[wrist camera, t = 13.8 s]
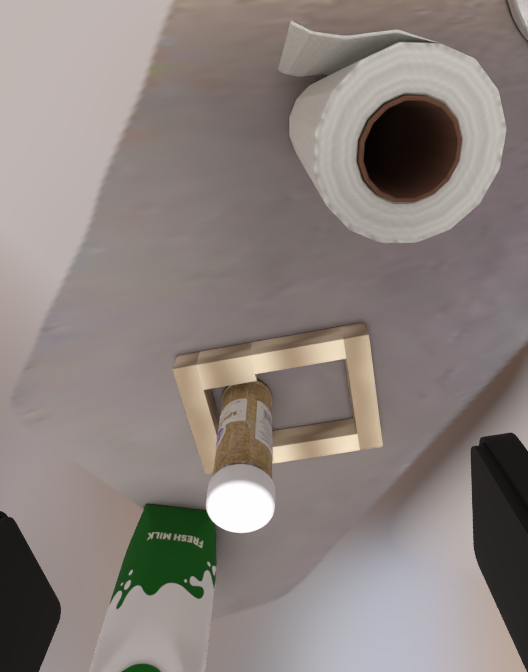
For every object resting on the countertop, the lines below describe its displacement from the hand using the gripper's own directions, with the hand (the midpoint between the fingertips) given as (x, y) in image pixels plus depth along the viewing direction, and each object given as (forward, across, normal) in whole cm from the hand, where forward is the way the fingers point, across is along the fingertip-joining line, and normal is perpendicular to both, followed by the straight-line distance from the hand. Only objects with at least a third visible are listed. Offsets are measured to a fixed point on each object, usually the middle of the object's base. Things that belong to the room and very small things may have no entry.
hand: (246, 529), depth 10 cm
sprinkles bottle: (+31, +4, +15) cm, 34 cm away
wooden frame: (+30, +2, +16) cm, 34 cm away
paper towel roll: (+31, -6, -6) cm, 32 cm away
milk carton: (+31, +15, +30) cm, 45 cm away
